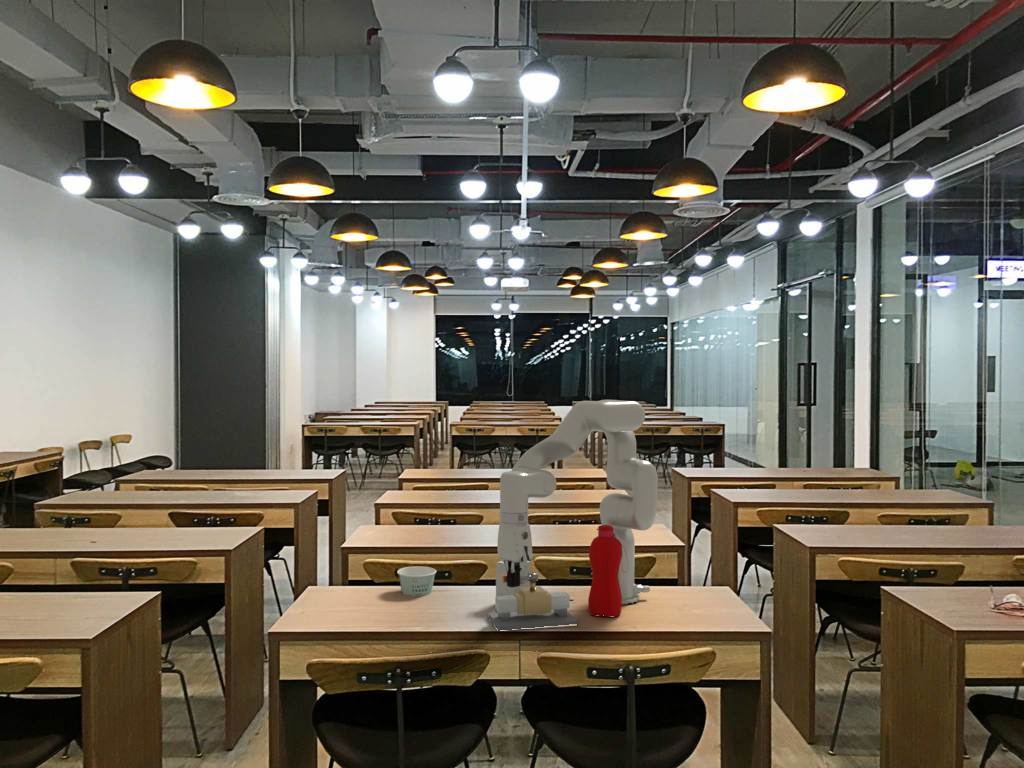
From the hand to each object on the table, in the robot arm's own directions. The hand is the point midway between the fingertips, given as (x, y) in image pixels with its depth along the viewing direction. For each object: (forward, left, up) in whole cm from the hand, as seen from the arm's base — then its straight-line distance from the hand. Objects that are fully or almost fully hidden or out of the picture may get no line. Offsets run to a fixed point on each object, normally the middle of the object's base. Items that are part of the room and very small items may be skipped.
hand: (513, 586), depth 233 cm
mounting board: (-6, -3, -11) cm, 13 cm away
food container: (+20, -40, -11) cm, 47 cm away
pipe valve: (-6, -3, -10) cm, 12 cm away
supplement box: (-5, -21, -11) cm, 25 cm away
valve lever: (-3, -3, +1) cm, 4 cm away
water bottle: (-29, -6, -11) cm, 32 cm away
